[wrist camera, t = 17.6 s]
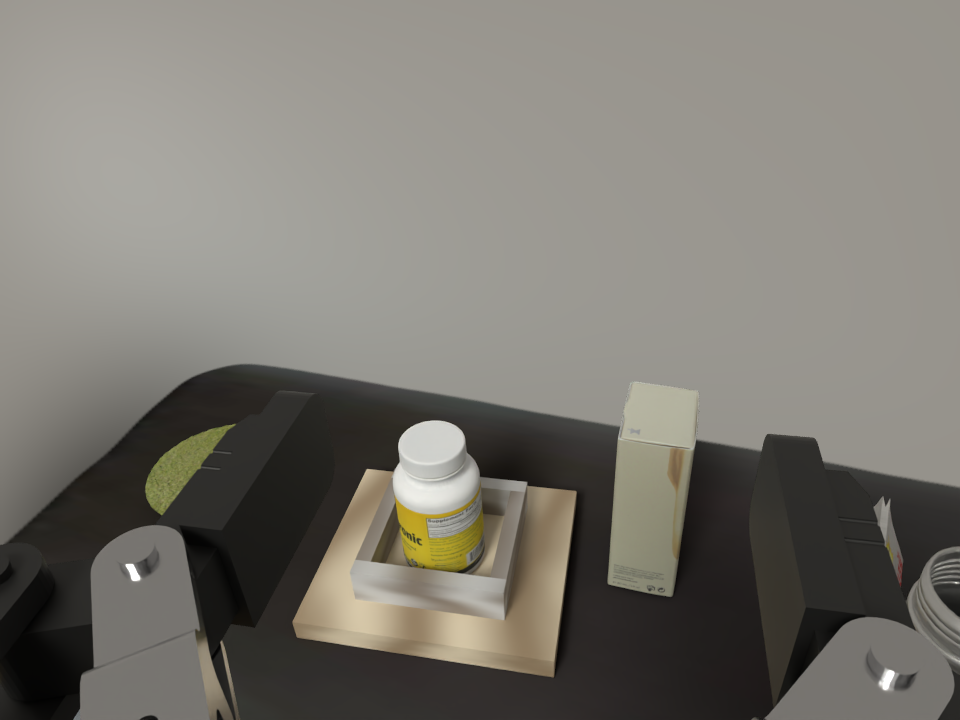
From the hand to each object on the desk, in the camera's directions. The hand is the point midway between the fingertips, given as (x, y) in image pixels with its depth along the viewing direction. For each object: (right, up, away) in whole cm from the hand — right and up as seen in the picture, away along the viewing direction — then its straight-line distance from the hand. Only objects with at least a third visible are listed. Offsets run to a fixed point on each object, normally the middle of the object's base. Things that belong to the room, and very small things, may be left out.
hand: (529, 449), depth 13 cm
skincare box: (+10, -12, +36) cm, 39 cm away
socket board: (-3, -12, +36) cm, 38 cm away
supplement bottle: (-3, -11, +35) cm, 37 cm away
